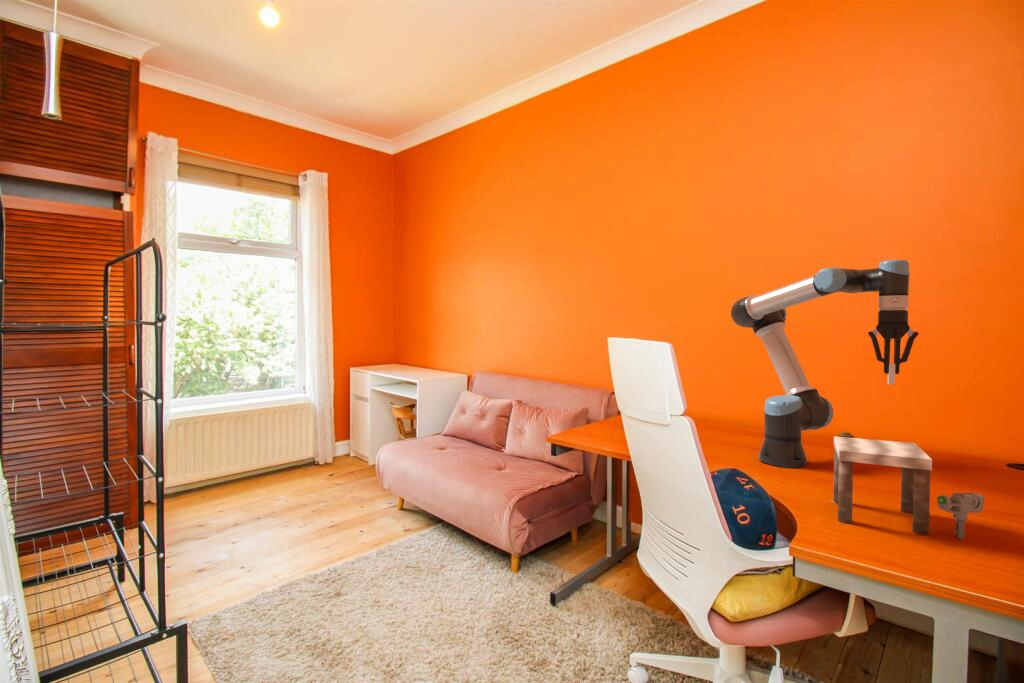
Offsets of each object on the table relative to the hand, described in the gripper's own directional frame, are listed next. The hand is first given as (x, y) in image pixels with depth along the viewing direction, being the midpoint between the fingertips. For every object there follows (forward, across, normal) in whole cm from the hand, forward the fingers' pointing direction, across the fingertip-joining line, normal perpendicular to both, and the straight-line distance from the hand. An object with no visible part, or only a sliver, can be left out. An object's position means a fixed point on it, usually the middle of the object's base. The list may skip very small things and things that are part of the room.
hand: (891, 384), depth 159 cm
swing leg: (+30, -12, -33) cm, 46 cm away
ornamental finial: (+31, -9, +32) cm, 45 cm away
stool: (+30, -8, -40) cm, 51 cm away
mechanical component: (+30, +7, -47) cm, 56 cm away
